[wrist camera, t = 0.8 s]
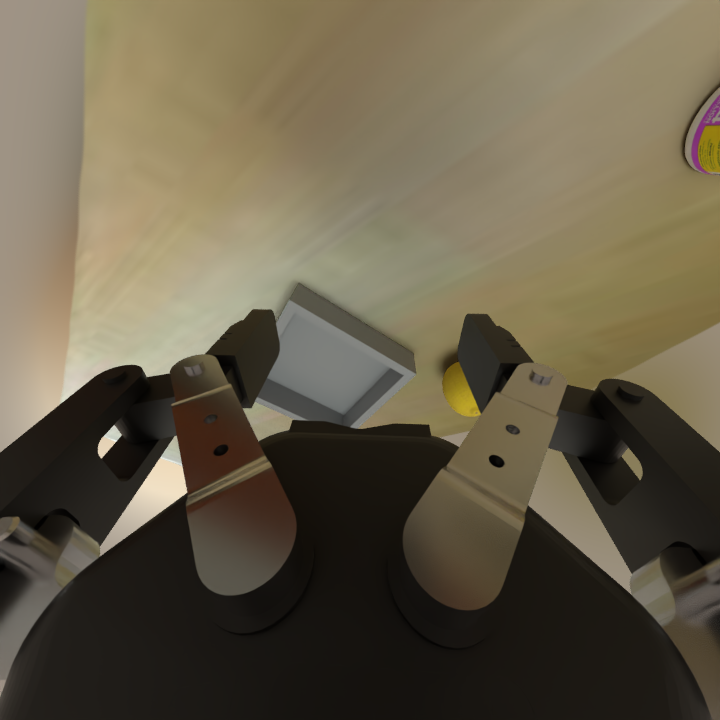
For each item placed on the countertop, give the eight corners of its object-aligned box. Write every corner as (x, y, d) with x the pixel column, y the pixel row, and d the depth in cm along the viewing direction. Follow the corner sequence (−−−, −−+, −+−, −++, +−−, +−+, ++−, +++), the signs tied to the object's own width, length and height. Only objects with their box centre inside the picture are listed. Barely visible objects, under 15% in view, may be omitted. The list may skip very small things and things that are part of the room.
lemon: (480, 379, 37) (500, 428, 31) (437, 383, 38) (448, 431, 32) (484, 345, 34) (508, 392, 28) (437, 350, 35) (449, 396, 28)
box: (298, 283, 30) (289, 299, 27) (413, 353, 35) (416, 374, 32) (248, 373, 39) (237, 393, 36) (346, 419, 44) (343, 441, 41)
